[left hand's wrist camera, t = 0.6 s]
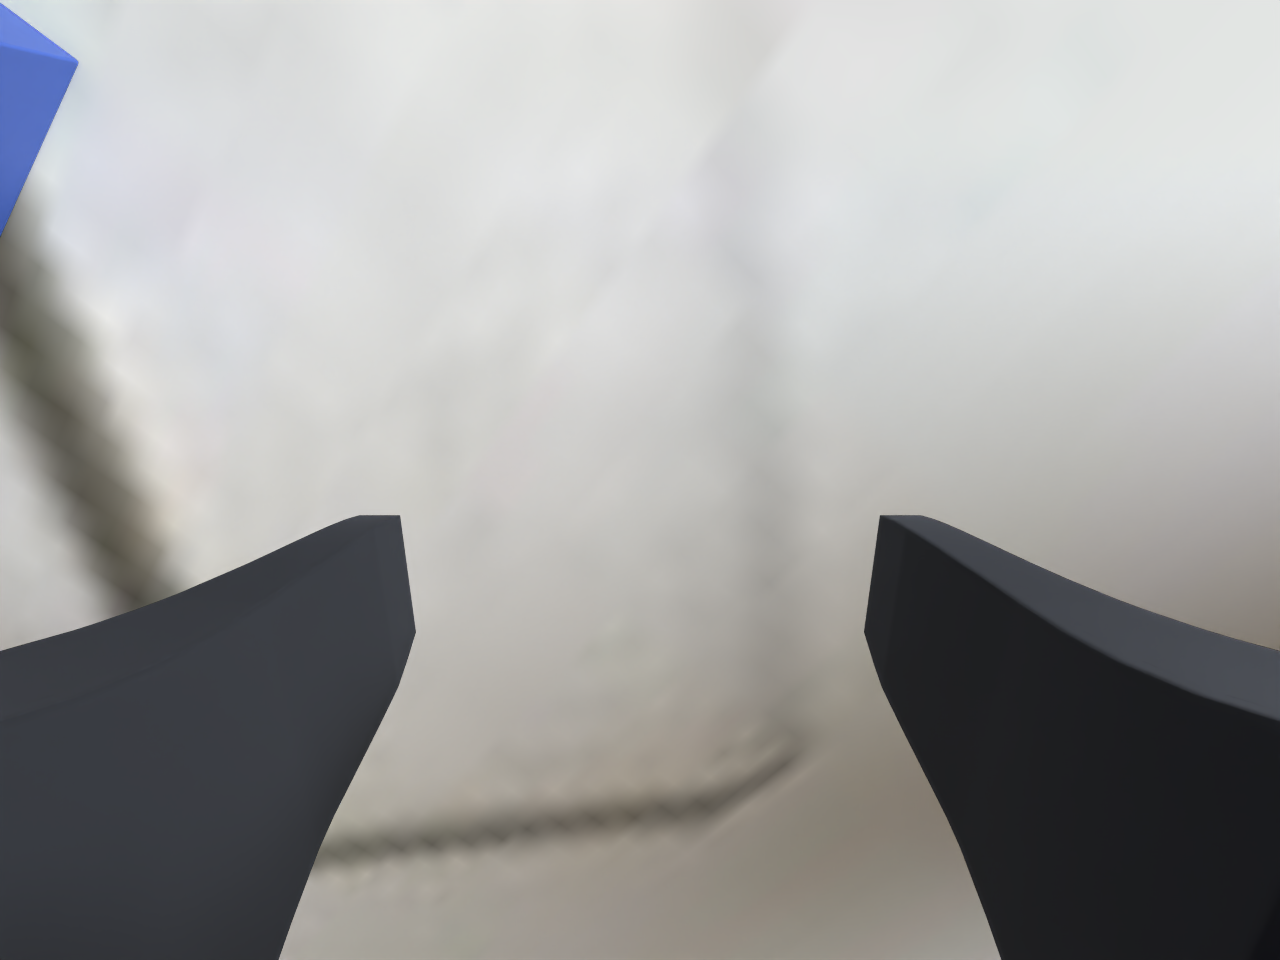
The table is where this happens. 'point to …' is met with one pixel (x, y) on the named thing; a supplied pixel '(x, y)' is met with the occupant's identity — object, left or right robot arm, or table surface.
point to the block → (26, 100)
